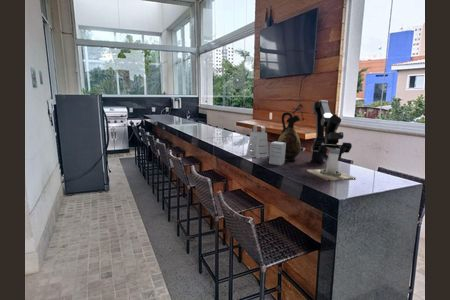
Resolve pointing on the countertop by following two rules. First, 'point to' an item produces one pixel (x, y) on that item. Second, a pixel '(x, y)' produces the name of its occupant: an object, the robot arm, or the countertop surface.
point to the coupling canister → (332, 160)
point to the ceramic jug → (290, 137)
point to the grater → (258, 143)
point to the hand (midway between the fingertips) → (332, 160)
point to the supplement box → (277, 153)
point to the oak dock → (330, 175)
